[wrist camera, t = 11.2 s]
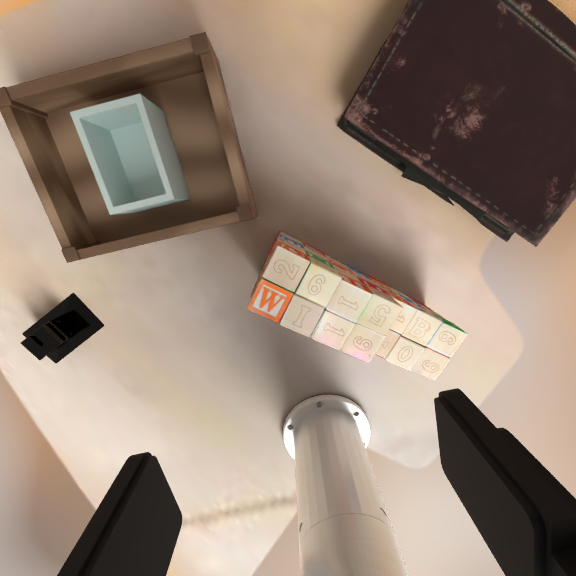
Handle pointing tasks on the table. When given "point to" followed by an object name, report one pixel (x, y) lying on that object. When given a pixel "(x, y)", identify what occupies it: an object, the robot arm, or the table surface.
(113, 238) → the big crate
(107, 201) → the small crate
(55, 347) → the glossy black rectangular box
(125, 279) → the table surface
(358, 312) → the stack of blocks
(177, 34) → the table surface
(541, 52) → the diary
